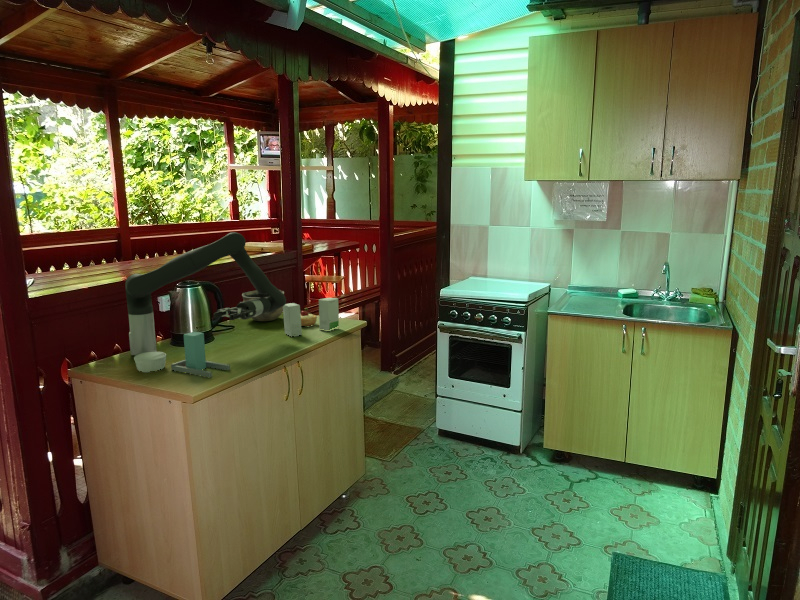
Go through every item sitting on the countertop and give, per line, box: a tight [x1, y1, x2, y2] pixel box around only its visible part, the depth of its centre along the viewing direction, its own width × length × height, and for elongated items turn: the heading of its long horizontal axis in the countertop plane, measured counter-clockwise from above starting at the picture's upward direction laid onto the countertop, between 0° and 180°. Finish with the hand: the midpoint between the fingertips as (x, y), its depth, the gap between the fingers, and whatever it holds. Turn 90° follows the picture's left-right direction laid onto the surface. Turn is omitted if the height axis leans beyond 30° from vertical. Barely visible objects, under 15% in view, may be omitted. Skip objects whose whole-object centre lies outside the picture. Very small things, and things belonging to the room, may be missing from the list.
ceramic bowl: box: [241, 289, 285, 322], centre depth 279 cm, size 22×22×15 cm
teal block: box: [183, 331, 207, 370], centre depth 199 cm, size 5×5×14 cm
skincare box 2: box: [318, 297, 340, 330], centre depth 260 cm, size 8×7×16 cm
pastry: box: [300, 307, 318, 327], centre depth 269 cm, size 12×12×9 cm
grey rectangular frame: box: [170, 359, 231, 379], centre depth 199 cm, size 19×10×2 cm, turn 64°
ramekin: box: [133, 351, 167, 373], centre depth 200 cm, size 11×11×5 cm
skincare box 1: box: [282, 302, 303, 338], centre depth 250 cm, size 8×6×15 cm
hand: (222, 316), depth 210 cm, fingers open, 8 cm apart
